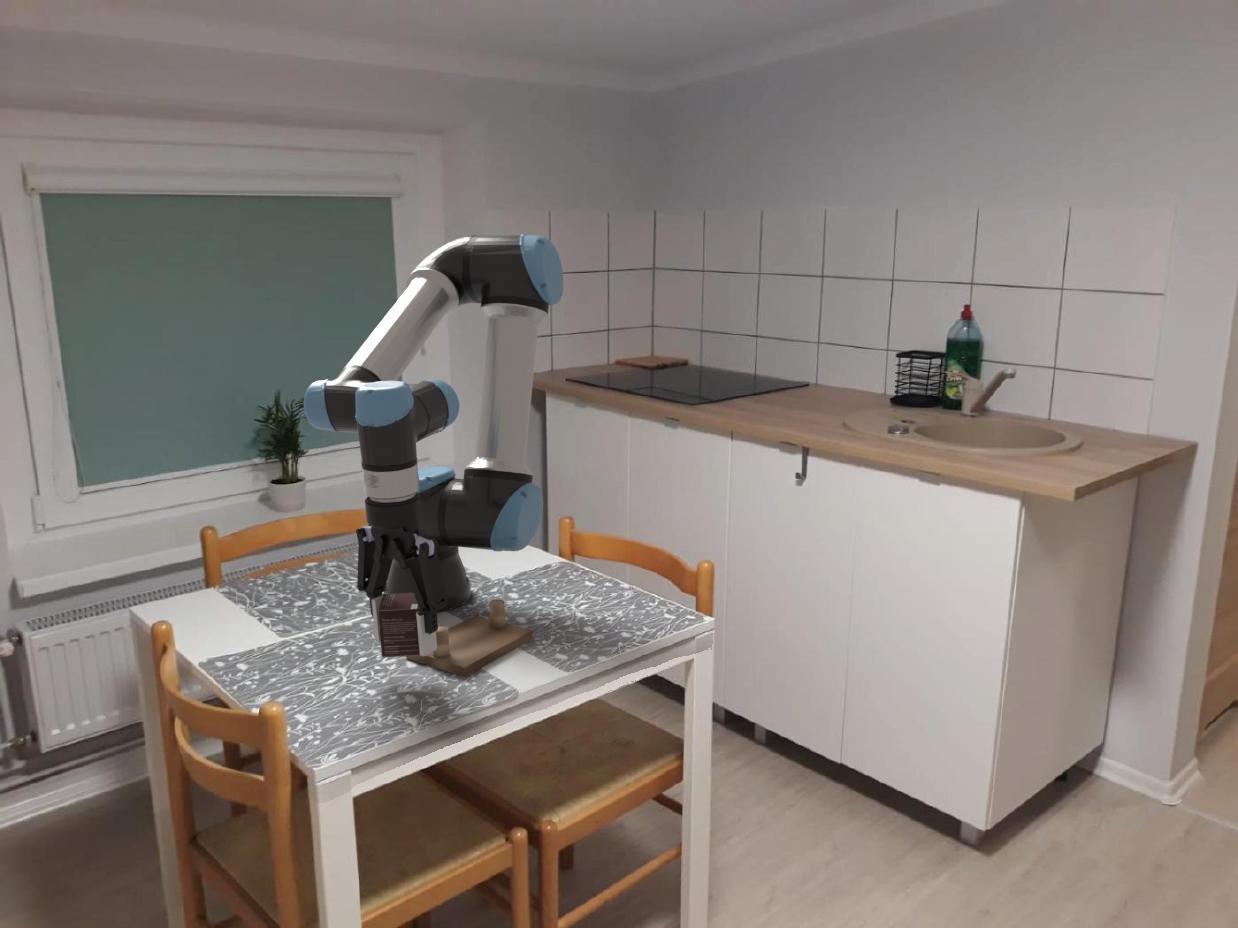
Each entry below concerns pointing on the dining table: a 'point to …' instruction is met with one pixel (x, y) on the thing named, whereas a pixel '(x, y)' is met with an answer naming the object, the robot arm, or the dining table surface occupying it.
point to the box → (399, 625)
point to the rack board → (475, 642)
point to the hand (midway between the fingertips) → (406, 644)
